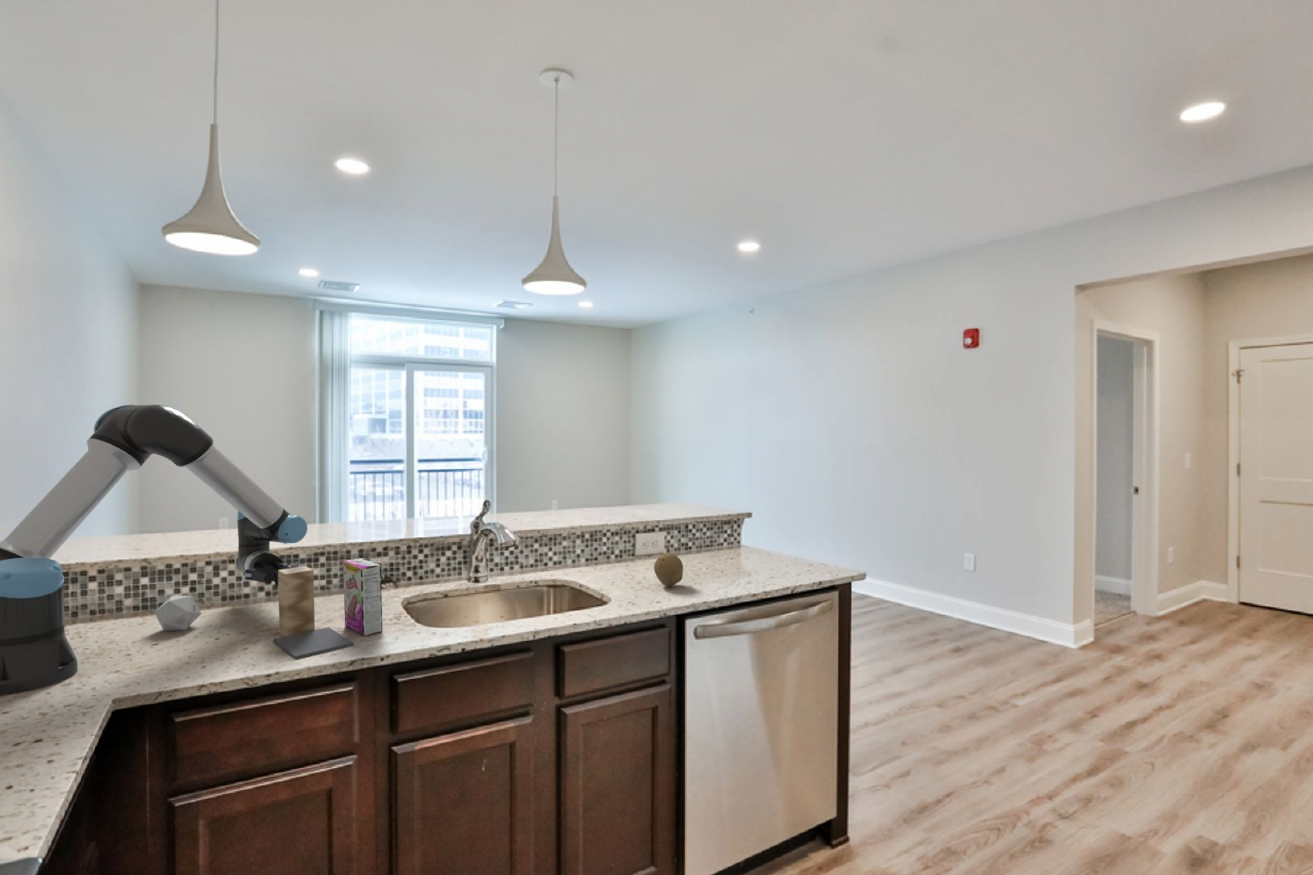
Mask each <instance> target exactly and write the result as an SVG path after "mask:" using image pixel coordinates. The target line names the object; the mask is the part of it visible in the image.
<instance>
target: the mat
mask: <svg viewBox="0 0 1313 875" xmlns="http://www.w3.org/2000/svg"><path fill="white" fill-rule="evenodd" d="M272 640H273V642H274V643H275V645H277V646H278V647H280V648H281V649H282V650H283V651H284V652H286V653H287V654H288V655H290V656H291V657H292V658H293V659H294V660H298V659H301V658H305V657H309V655H311V656H313V655H318V654H322V653H326V652H331V651H335V650H339V649H343V648H348V647H352V646H354V645H355V643H354V641H352V640H350V639H349V638H347V637H346V636H344V635H342V634H341V633H339V632H338V631H336V630H334V629H333V628H331V627H329V626H328V627H321V628H317V629H315V630H313V631H308V632H303V633H299V634H294V635H289V636H280V637H276V638H273V639H272Z"/></svg>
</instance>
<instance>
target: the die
mask: <svg viewBox="0 0 1313 875" xmlns="http://www.w3.org/2000/svg"><path fill="white" fill-rule="evenodd" d="M153 614H154V615H155V618H156V619H157V621H158V623H159V624H160V626H161V628H162V630H163V631H166V632H167V631H169V632H170V631H171V632H172V631H186V630H187V629H188V628H189V627H190V626H191V625H192V624H193V623H194V622H195V621H196V620H197V619H198V618H199V617H200V616H201V615H202V611H201V610H200V608H199V606H198V604H197V602H196V600H195V598H194V596H193V595H170V597H169V598H168V599H167V600H166V601H165V602H164V603H163V604H161V605H160V606H159V607H158V608H157V609H156V610H155V611H154V612H153Z"/></svg>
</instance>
